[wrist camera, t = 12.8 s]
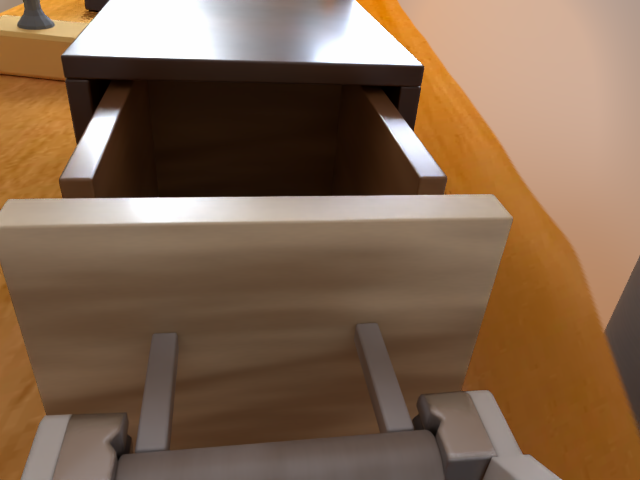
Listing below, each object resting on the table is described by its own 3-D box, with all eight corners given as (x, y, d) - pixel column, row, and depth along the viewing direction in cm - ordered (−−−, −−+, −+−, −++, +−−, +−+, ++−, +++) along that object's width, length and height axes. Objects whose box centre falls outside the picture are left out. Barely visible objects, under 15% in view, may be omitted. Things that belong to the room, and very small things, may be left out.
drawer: (504, 614, 14) (639, 365, 9) (16, 683, 12) (-137, 416, 7) (353, 219, 30) (373, 52, 25) (133, 223, 28) (109, 43, 23)
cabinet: (386, 292, 26) (425, 66, 20) (105, 303, 24) (59, 55, 18) (331, 153, 39) (346, -10, 33) (145, 153, 37) (126, -21, 31)
